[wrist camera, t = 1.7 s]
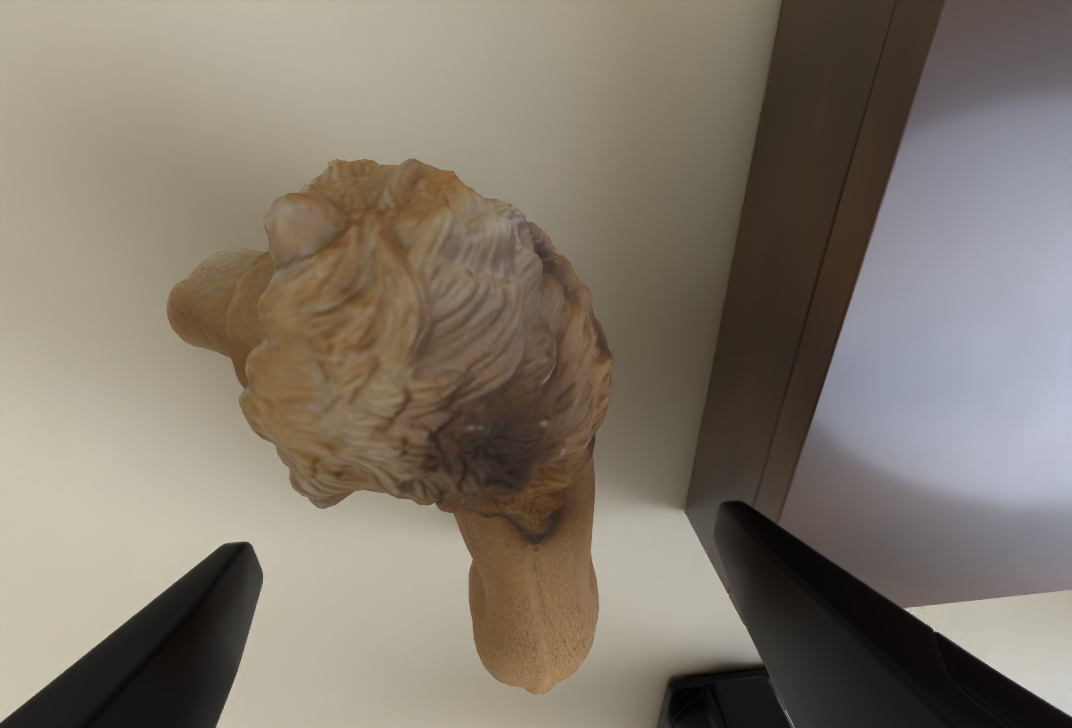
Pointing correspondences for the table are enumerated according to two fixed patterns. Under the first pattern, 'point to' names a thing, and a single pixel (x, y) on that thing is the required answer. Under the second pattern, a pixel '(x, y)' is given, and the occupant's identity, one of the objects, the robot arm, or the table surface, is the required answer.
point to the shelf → (905, 301)
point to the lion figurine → (428, 383)
